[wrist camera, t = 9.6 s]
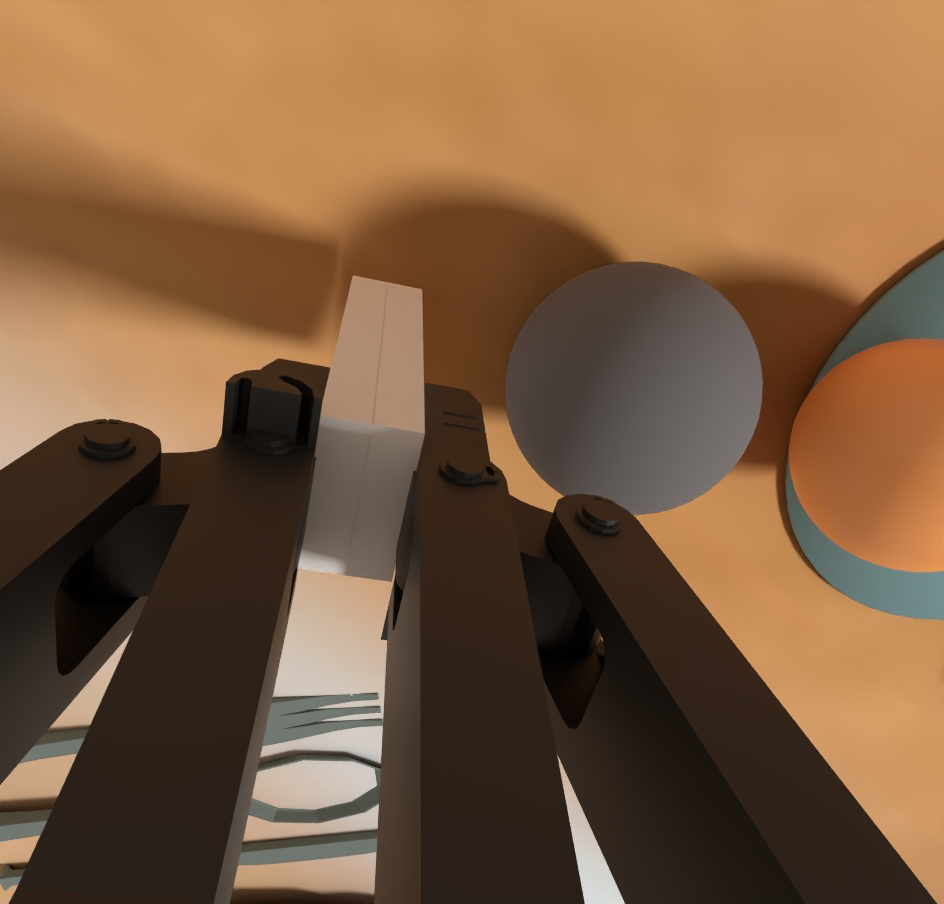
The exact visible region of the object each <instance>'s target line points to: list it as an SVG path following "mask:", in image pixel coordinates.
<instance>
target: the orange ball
mask: <svg viewBox="0 0 944 904" xmlns="http://www.w3.org/2000/svg"><path fill="white" fill-rule="evenodd" d="M789 466H790V474H791V478H792V481H793V485H794V488H795V492H796V494H797V496H798V498H799V501H800V503H801V505H802V506H803V508H804V510H805V511H806V513H807V514H808V516H809V517H810V519H811V520H812V521H813V522H814V523H815V525H816V526H817V527H818V528H819V529H820V531H821V532H823V533H824V534H825V535H826V536H827V537H828V538H829V539H830V540H831V541H832V542H834V543H835V544H837V545H838V546H840V547H841V548H842V549H844V550H845V551H847V552H849V553H851V554H853V555H855V556H857V557H858V558H860V559H863V560H865V561H868V562H871V563H873V564H876V565H878V566H882V567H886V568H890V569H894V570H901V571H908V572H939V571H944V339H932V338H917V339H905V340H898V341H892V342H887V343H884V344H880V345H877V346H873V347H871V348H868V349H866V350H864V351H861V352H859V353H857V354H855V355H853V356H851V357H849V358H848V359H846V360H845V361H843V362H841V363H840V364H838V365H837V366H835V367H834V368H833V369H832V370H831V371H830V372H828V373H827V374H826V375H825V376H824V377H823V378H822V379H821V380H820V381H819V382H818V383H817V384H816V385H815V386H814V388H813V389H812V390H811V391H810V393H809V394H808V396H807V397H806V399H805V400H804V402H803V404H802V406H801V407H800V409H799V411H798V414H797V416H796V418H795V421H794V424H793V428H792V432H791V437H790V443H789Z"/></svg>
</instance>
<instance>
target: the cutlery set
mask: <svg viewBox="0 0 944 904" xmlns="http://www.w3.org/2000/svg"><path fill="white" fill-rule="evenodd" d="M377 699H379V697H378V693H367V694H353V696H351V695H350V694H347V695H326V696H306V697H285V698H272V702H271V706H270V711H269V716H268V721H267V726H266V731H265V735H264V740H263V745H262V746H266V745H271V744H277V743H282V742H287V741H291V740H296V739H301V738H305V737H310V736H314V735H319V734H323V733H327V732H332V731H337V730H343V729H350V728H356V727H367V726H382V725H383V721H382V719H368V720H348V721H328V722H317V721H321V720H325V719H330V718H336V717H342V716H348V715H354V714H367V713H381V709H380V706H371V707H351V708H330V709H313V708H318V707H322V706H326V705H332V704H338V703H345V702H351V701H362V700H377ZM309 709H310V710H309ZM88 729H89V728H84V729H73V730H63V731H52V732H45V733H44V734H43V736H42V737H41V738H40V739H39V740H38V741H37V743H36V744H35V745H34V746H33V747H32V748H31V750H30V751H29V752H28V753H27V754H26V755H25V757H24V758H23V759H22V760H21V761H20V762H19V763H23V762H28V761H33V760H38V759H44V758H50V757H57V756H64V755H70V754H77V753H78V751H79V749H80V747H81V745H82V743H83V740H84V738H85V736H86V734H87V732H88ZM302 760H316V761H354V762H357V763H360V764H363V765H366V766H368V767H371V768H374V769H375V774H376V781H377V786H376V787H375V788H373V789H371V790H370V791H368V792H366V793H365V794H363V795H362V796H360V797H358V798H357V799H355V800H353V801H352V802H348V803H344V804H339V805H335V806H330V807H326V808H321V809H317V810H308V809H286V808H277V807H274V806H272V805H269V804H266V803H264V802H261V801H258V800H255V799H253V798H252V799H251V803H250V808H249V813H248V815H251V816H254V817H257V818H260V819H263V820H266V821H269V822H283V823H322V822H326V821H331V820H335V819H339V818H343V817H348V816H352V815H356V814H360V813H365V812H367V811H368V810H370V809H372V808H373V807H375V806H376V805H378V804H379V795H380V776H381V769H379V768H377V767H374V766H371V765H368V764H366V763H363V762H361V761H358V760H355V759H353V758H350V757H348V756H345V755H319V754H298V755H294V756H290V757H286V758H282V759H278V760H274V761H270V762H267V763H263V764H261V765H260V766H259V767H258V769H257V772H258V771H262V770H266V769H270V768H274V767H278V766H282V765H286V764H290V763H294V762H298V761H302ZM51 811H52V809H48V810H37V811H20V812H0V841H6V840H13V839H19V838H26V837H32V836H39V835H41V833H42V831H43V829H44V827H45V825H46V822H47V820H48V818H49V816H50V813H51ZM377 835H378V830H377V831H367V832H356V833H345V834H335V835H324V836H314V837H305V838H295V839H286V840H276V841H267V842H257V843H248V844H242V847H241V852H240V857H239V862H238V865H262V864H275V863H286V862H296V861H306V860H316V859H325V858H333V857H342V856H351V855H359V854H366V853H372V852H376V851H377ZM24 871H25V869H19V870H11V868H10V866H9V865H8V864H6V865H5V867H4V869H3V871H2V873H1V875H0V884H1V885H2V887H3V889H4V890H5V891H6V890H7V889H8V888H9V887H11V886H12V885H18V884H19V882H20V880H21V878H22V875H23V873H24Z"/></svg>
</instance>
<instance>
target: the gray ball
mask: <svg viewBox="0 0 944 904" xmlns="http://www.w3.org/2000/svg"><path fill="white" fill-rule="evenodd" d="M762 389H763V379H762V368H761V362H760V358H759V354H758V350H757V347H756V345H755V342H754V339H753V337H752V334H751V332H750V331H749V329H748V327H747V325H746V323H745V322H744V320H743V318H742V317H741V316H740V314H739V313H738V312H737V310H736V309H735V308H734V306H733V305H732V304H731V303H730V302H729V301H728V300H727V299H726V298H725V297H724V296H723V295H722V294H721V293H720V292H719V291H717V290H716V289H715V288H713V287H712V286H711V285H709V284H708V283H706V282H705V281H703V280H701V279H700V278H698V277H696V276H694V275H692V274H690V273H687V272H685V271H682V270H680V269H677V268H674V267H670V266H666V265H662V264H658V263H649V262H623V263H616V264H610V265H604V266H601V267H598V268H595V269H591V270H589V271H586V272H584V273H582V274H580V275H578V276H576V277H574V278H572V279H570V280H568V281H567V282H565V283H564V284H562V285H561V286H559V287H558V288H556V289H555V290H554V291H553V292H552V293H551V294H549V295H548V296H547V297H546V298H545V299H544V300H543V301H542V302H541V303H540V304H539V305H538V306H537V307H536V308H535V309H534V311H533V312H532V313H531V314H530V316H529V317H528V319H527V320H526V322H525V324H524V325H523V327H522V328H521V330H520V332H519V334H518V336H517V338H516V340H515V343H514V345H513V348H512V351H511V354H510V357H509V361H508V367H507V373H506V379H505V402H506V410H507V415H508V420H509V423H510V426H511V430H512V433H513V435H514V437H515V440H516V442H517V445H518V446H519V448H520V450H521V452H522V454H523V455H524V457H525V458H526V460H527V461H528V463H529V464H530V465H531V467H532V468H533V469H534V470H535V471H536V473H537V474H538V475H539V476H540V477H541V478H542V479H543V480H544V481H545V482H546V483H547V484H549V485H550V486H551V487H552V488H553V489H555V490H556V491H557V492H559V493H560V494H562V495H563V496H566V495H573V494H587V495H597V496H601V497H603V498H604V499H605V498H607V499H609V500H612V501H614V502H615V503H616V504H618V505H619V506H621V507H623V508H625V509H626V510H628V511H629V512H630V513H631V514H632V515H642V514H651V513H658V512H662V511H666V510H670V509H673V508H676V507H678V506H681V505H683V504H686V503H688V502H690V501H692V500H694V499H696V498H697V497H699V496H701V495H703V494H704V493H706V492H707V491H709V490H710V489H711V488H712V487H714V486H715V485H716V484H717V483H719V482H720V481H721V480H722V479H723V478H724V477H725V476H726V475H727V474H728V473H729V472H730V471H731V470H732V469H733V468H734V466H735V465H736V463H737V462H738V461H739V459H740V458H741V456H742V455H743V453H744V452H745V450H746V448H747V446H748V444H749V442H750V440H751V438H752V436H753V434H754V431H755V428H756V425H757V422H758V419H759V415H760V409H761V404H762Z"/></svg>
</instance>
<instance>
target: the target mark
mask: <svg viewBox="0 0 944 904" xmlns="http://www.w3.org/2000/svg"><path fill="white" fill-rule="evenodd" d="M917 338H932V339H944V249H943V250H942V251H940V252H939V253H937V254H936V255H934V256H933V257H931V258H930V259H928V260H927V261H925V262H924V263H922V264H921V265H919V266H918V267H916V268H915V269H914V270H912V271H911V272H910V273H909V274H907V275H906V276H905V277H904V278H903V279H901V280H900V281H899V282H898V283H897V284H895V285H894V286H893V287H892V288H890V289H889V290H888V291H887V292H886V293H884V294H883V295H882V296H881V297H880V298H879V299H878V300H877V301H876V302H875V303H874V304H873V305H872V306H871V307H870V308H869V309H868V310H867V311H866V312H865V313H864V314H863V315H862V316H861V317H860V318H859V319H858V321H857V322H856V323H855V324H854V326H853V327H852V328H851V329H850V330H849V332H848V333H847V334H846V335H845V337H844V338H843V339H842V340H841V341H840V343H839V344H838V345H837V346H836V348H835V349H834V351H833V352H832V354H831V355H830V357H829V358H828V360H827V361H826V363H825V364H824V366H823V367H822V369H821V370H820V372H819V374H818V375H817V377H816V379H815V381H814V383H813V385H812V387H811V389H810V391H811V390H812V389H813V388H814V386H815V385H816V384H817V383H818V382H819V381H820V380H821V379H822V378H823V377H824V376H825V375H826V374H827V373H828V372H830V371H831V370H832V369H833V368H834V367H835V366H837V365H838V364H840V363H841V362H843V361H845V360H846V359H848V358H849V357H851V356H853V355H855V354H857V353H859V352H861V351H864V350H866V349H868V348H871V347H873V346H877V345H880V344H884V343H887V342H892V341H898V340H905V339H917ZM810 391H809V393H810ZM809 393H808V394H809ZM807 396H808V395H807ZM785 493H786V503H787V511H788V515H789V518H790V522H791V526H792V529H793V532H794V534H795V536H796V538H797V541H798V543H799V545H800V547H801V549H802V551H803V552H804V554H805V555H806V557H807V558H808V559H809V561H810V562H811V563H812V565H813V566H814V568H815V569H816V570H817V572H818V573H819V574H820V575H821V576H822V577H824V578H825V579H826V580H827V581H828V582H829V583H830V584H831V585H832V586H833V587H834V588H836V589H837V590H839V591H840V592H842V593H843V594H845V595H846V596H848V597H849V598H851V599H853V600H855V601H857V602H859V603H861V604H864V605H866V606H868V607H870V608H873V609H876V610H880V611H883V612H886V613H889V614H893V615H899V616H905V617H911V618H919V619H939V620H943V619H944V571H939V572H908V571H901V570H894V569H890V568H886V567H882V566H878V565H876V564H873V563H871V562H868V561H865V560H863V559H860V558H858V557H857V556H855V555H853V554H851V553H849V552H847V551H845V550H844V549H842V548H841V547H840V546H838V545H837V544H835V543H834V542H832V541H831V540H830V539H829V538H828V537H827V536H826V535H825V534H824V533H823V532H821V531H820V529H819V528H818V527H817V526H816V525H815V523H814V522H813V521H812V520H811V519H810V517H809V516H808V514H807V513H806V511H805V510H804V508H803V506H802V505H801V503H800V501H799V498H798V496H797V494H796V492H795V488H794V485H793V481H792V478H791V474H790V466H789V451H788V455H787V460H786V475H785Z"/></svg>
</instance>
